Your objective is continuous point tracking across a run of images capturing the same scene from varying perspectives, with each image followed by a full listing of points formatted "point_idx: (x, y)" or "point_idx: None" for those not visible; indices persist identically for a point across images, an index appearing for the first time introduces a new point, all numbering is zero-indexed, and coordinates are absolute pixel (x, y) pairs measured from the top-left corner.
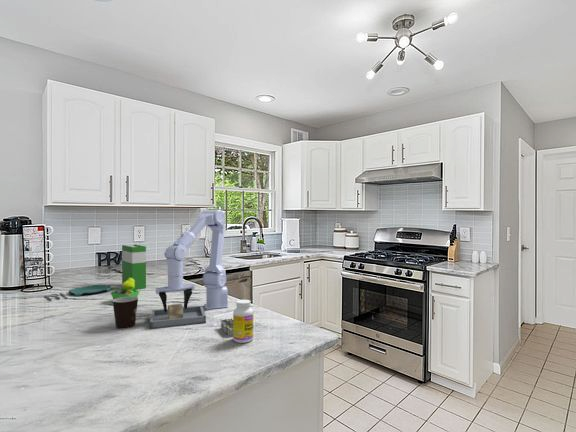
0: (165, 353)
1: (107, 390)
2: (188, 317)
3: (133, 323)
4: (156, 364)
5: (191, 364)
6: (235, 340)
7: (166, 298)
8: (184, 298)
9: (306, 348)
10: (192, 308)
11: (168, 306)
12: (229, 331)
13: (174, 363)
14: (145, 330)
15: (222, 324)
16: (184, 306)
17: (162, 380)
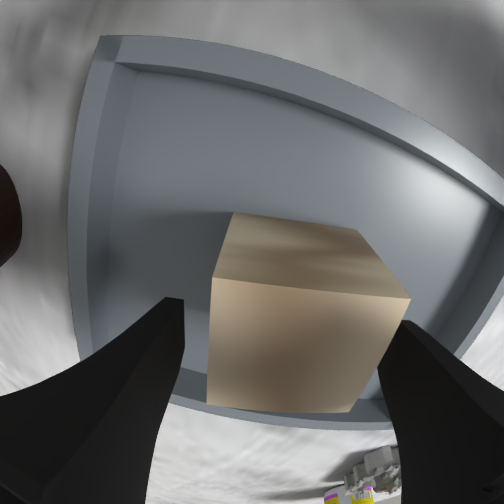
0: (166, 477)
1: None
2: (318, 421)
3: (9, 253)
4: (149, 483)
5: (207, 501)
6: (324, 496)
7: (144, 499)
8: (446, 403)
9: (381, 499)
10: (489, 197)
11: (209, 332)
12: (345, 487)
13: (180, 493)
14: None
15: (367, 472)
16: (394, 353)
17: (160, 497)
